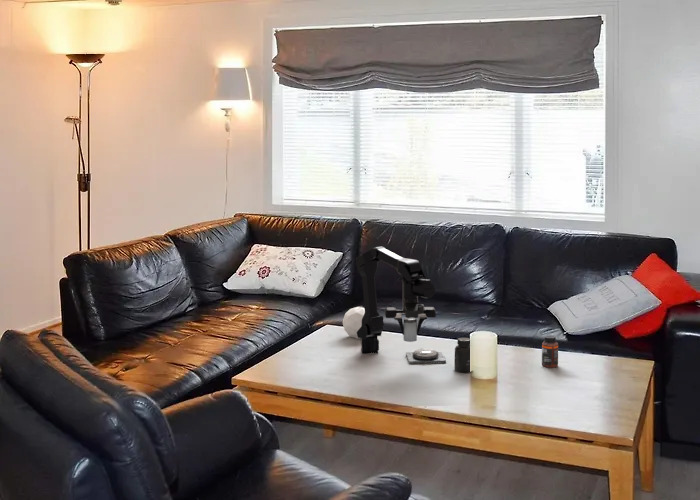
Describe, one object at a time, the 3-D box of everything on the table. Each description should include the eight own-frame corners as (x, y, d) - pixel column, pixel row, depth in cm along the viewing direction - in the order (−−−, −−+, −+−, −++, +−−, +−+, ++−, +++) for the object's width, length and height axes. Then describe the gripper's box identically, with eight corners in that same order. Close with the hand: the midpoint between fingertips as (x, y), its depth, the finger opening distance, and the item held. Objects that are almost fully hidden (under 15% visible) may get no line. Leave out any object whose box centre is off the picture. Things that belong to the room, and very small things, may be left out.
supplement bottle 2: (558, 364, 309) (559, 335, 307) (557, 368, 303) (558, 339, 301) (542, 362, 311) (543, 333, 309) (540, 367, 305) (541, 338, 303)
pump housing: (404, 341, 306) (404, 321, 305) (402, 338, 311) (402, 317, 310) (417, 341, 306) (417, 320, 305) (416, 338, 311) (416, 317, 310)
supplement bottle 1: (472, 373, 299) (472, 342, 297) (453, 373, 300) (453, 341, 298) (473, 368, 305) (473, 337, 303) (455, 367, 307) (455, 336, 305)
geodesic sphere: (345, 317, 361) (342, 297, 351) (376, 318, 359) (374, 298, 349) (342, 344, 351) (339, 324, 342) (374, 345, 350) (371, 325, 340)
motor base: (409, 363, 312) (409, 356, 311) (405, 354, 324) (405, 347, 323) (445, 362, 312) (446, 355, 312) (441, 354, 324) (441, 346, 324)
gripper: (386, 299, 298) (386, 340, 300) (437, 298, 298) (437, 340, 301) (384, 292, 309) (384, 332, 311) (434, 292, 309) (433, 332, 312)
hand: (410, 334), depth 309 cm, fingers closed on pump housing, 5 cm apart
